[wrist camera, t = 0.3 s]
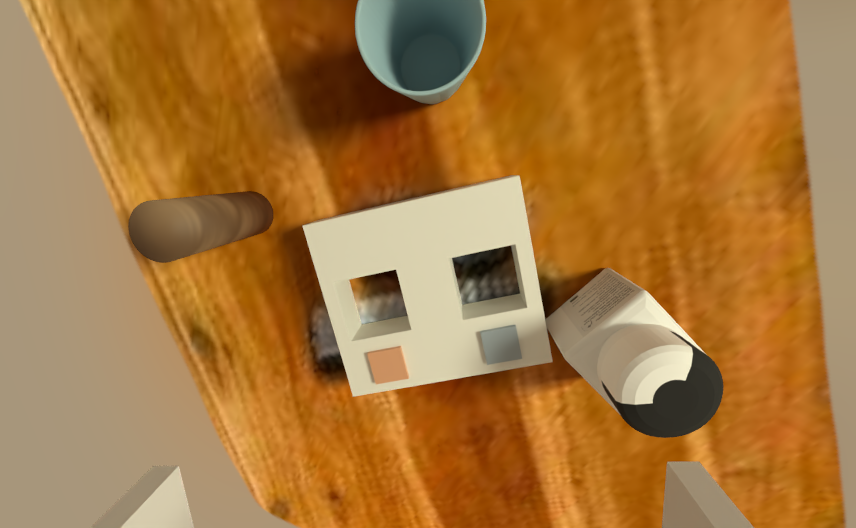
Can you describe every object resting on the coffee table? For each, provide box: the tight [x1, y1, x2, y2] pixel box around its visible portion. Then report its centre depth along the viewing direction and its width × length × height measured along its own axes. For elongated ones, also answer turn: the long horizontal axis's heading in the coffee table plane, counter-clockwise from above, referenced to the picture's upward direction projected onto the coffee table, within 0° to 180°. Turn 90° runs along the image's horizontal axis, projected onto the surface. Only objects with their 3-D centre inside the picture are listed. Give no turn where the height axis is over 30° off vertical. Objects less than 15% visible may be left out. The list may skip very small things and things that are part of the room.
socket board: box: [303, 175, 553, 397], centre depth 35 cm, size 16×18×4 cm
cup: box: [355, 0, 486, 104], centre depth 28 cm, size 8×8×10 cm
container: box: [545, 268, 723, 438], centre depth 31 cm, size 8×8×13 cm
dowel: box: [129, 191, 273, 262], centre depth 31 cm, size 4×4×12 cm
